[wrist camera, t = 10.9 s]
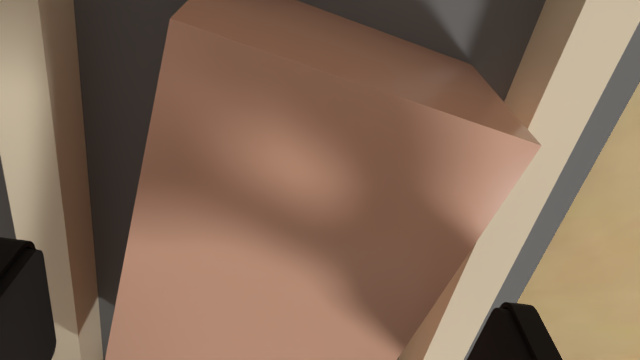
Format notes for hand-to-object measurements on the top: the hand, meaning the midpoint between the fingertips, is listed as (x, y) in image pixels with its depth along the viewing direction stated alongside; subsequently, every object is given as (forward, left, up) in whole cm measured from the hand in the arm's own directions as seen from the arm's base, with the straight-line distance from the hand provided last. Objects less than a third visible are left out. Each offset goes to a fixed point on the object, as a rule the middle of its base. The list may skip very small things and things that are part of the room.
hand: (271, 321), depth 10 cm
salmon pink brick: (0, 0, -4) cm, 4 cm away
